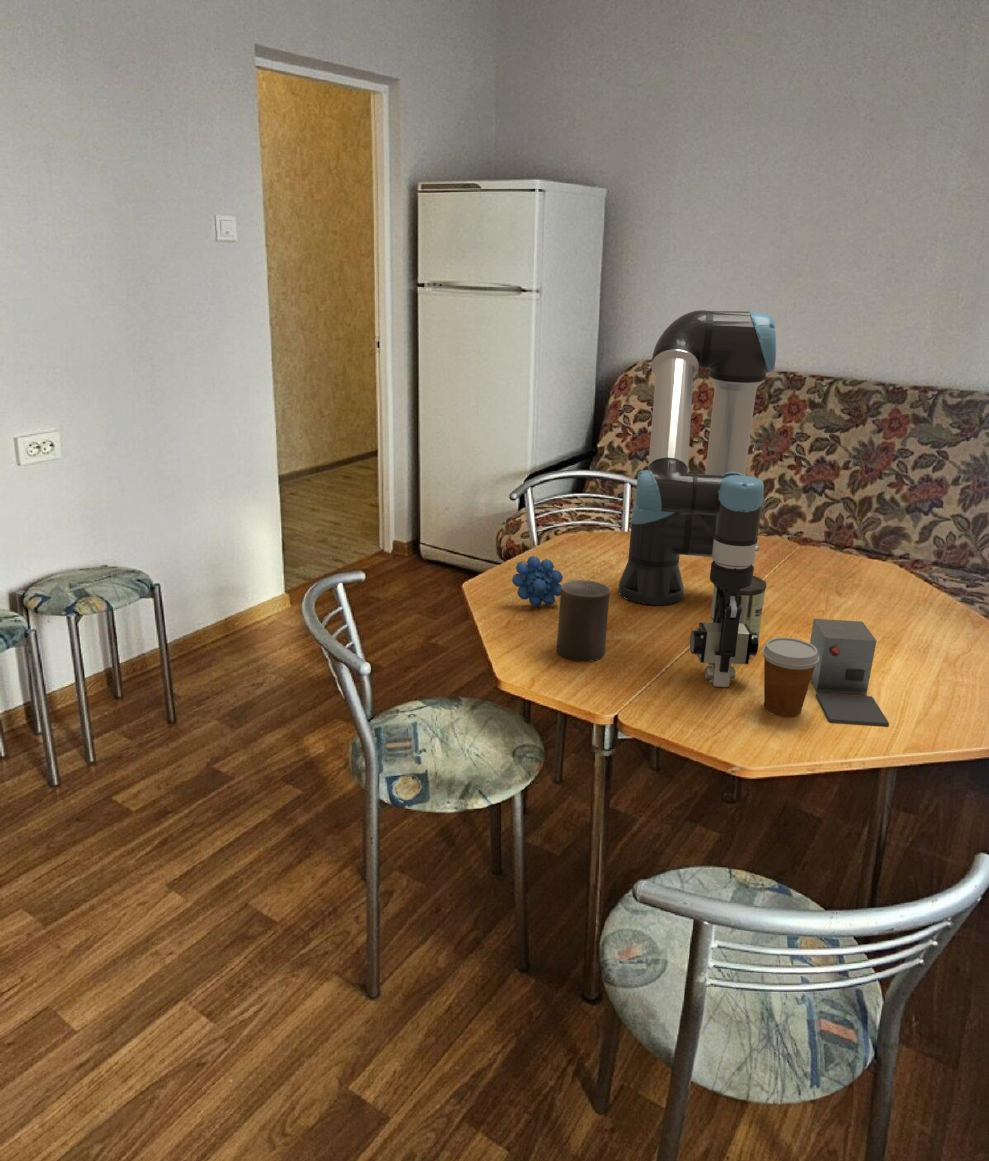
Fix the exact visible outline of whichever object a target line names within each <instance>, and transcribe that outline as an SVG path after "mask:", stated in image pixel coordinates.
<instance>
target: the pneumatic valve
mask: <svg viewBox="0 0 989 1161" xmlns="http://www.w3.org/2000/svg"><path fill="white" fill-rule="evenodd" d="M720 627H721V623H710V622H698V627H696V630H691V631H690V635H689V650H690V653H691V654H692V655H696V656H697V658H698V660H699V663H701V664H703V663H704V664H708V665H706V666H705V667H704V677H705V679H708V680H709V682H708V683H710V684H712V685H713V682H714V673H715V665H716V659H717V655H715V651H716V652H718V651H719V641H720ZM758 652H759V641H758V636H757V634H756V633H755V632H751V630H750V629H749V627H748V626H747V624H739V627H738V636H737V644H736V652H735V653H736V655H735V657H732V663H731V665H732V664H733V665H749V664H750V663H749V662H750V660H751V659H752V658H751V657H752V656H753V657H755V656H757V654H758ZM710 665H711V666H710ZM735 679H736V669H735V667H734V666H731V671H730V679H729V685H731V683H732V681H733V680H735Z"/></svg>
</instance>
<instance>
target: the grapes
mask: <svg viewBox="0 0 989 1161" xmlns="http://www.w3.org/2000/svg"><path fill="white" fill-rule="evenodd" d="M526 562H527V563H526ZM526 562H525V561H520V562H517V564H516V566H515V569H516V572H517V573H515V574H514V575H512V579H511V580H512V581H511V582H512V584H513V585H514V586H515V587H517V588H518V589H517V592H516V593H517V596H518V597H519V598H520V599H521V600H528V601H529V604H531V606H533V607H540V606H541V605H542V603H543V604H544V605H547V606H552V605H553V604H555V601H556V598H555V597H560V596H561V586H562V584H560V583H561V582H562V581H563V578H564V577H563V573H561V571H560V570H558V569H554V568H555V566H554V563H553V562H552V561H551V560H550V559H547V558H546V559H543V560H540V559H539V557H538V556H534V555H532V556H529V557H528V558H527V560H526Z"/></svg>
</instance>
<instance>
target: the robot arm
mask: <svg viewBox="0 0 989 1161" xmlns="http://www.w3.org/2000/svg"><path fill="white" fill-rule="evenodd" d="M775 325H776V324H775V320H774V319H773V317H772V315H770V314H768V313H764V312H755V311H751V310H750V311H742V310H741V311H738V310H737V311H733V310H730V311H729V310H727V311H726V310H706V309H705V310H703V309H701V310H694V311H690V312H686V313H685V314H683V315H682V316H680V317H678V318H676V319H675V320H674V321H672V323H670V324H669V325H668V326H667V327H666V328H665V329H664V331H663V333H662V334H661V335H660V337H659V338H658V339H657V342H656V343H655V346H654V349H653V353H652V357H651V358H652V359H651V371H652V373H653V375H654V376H655V380H654V381H655V382H654V394H653V403H652V404H653V405H652V417H651V430H650V439H649V440H650V441H649V442H650V443H649V453H648V464H647V465H648V466H647V467H648V468H647V469H645V470H640V471H639V472H638V473H637V478H636V489H635V491H636V492H635V502H634V504H633V507H632V513H631V518H630V524H631V527H630V538H629V548H628V557H627V558H628V560H627V562H626V565H625V567H624V570H623V572H622V574H621V577H620V579H619V581H618V590H617V591H618V594H619V593H620V594H619V595H620V596H621V597H622V598H623V597H625V598H627V599H629V600H631V601H630V602H632V601H633V602H632V603H636V602H640V603H644V604H643V605H646V604H650V605H649V606H667V604H669V605H673V604H672V603H674V604H676V602H677V603H678V602H681V601H682V600H683V598H684V592H685V591H684V590H685V587H684V583H683V579H682V574H681V570H680V566H679V564H680V556H681V555H682V556H691V557H693V556H694V557H706V558H711V559H712V561H711V564H710V573H709V581H710V582H711V583H712V584H713V585H714V584H715V585H716V587H717V592H716V602H715V610H714V618H713V623H721V627H720V641H719V651H718V652H716V651H715V655H717V659H716V665H715V673H714V682H713V684H712V685H713V687H721V688H724V687H725V688H729V685H730V684H729V679H730V671H731V667H732V664H731V663H732V657H735V655H736V653H735V652H736V644H737V636H738V627H739V619H740V615H741V612H742V609H741V607H739V606H740V605H741V596H740V595H739V590H740V589H742V588H747V587H749V586H750V585H751V584H752V579H753V576H754V570H755V567H754V563H755V561H756V552H758V551H760V546H759V545H758V544H757V543H758V539H759V538H758V536H759V535H758V534H759V528H760V523H761V518H762V517H761V516H762V510H763V504H764V501H765V498H764V491H765V490H764V489H765V485H764V482H763V481H762V479H759V478H756V477H754V476H749V475H746V469H747V464H748V455H749V448H750V440H751V433H752V425H753V420H754V409H755V401H756V395H757V394H756V393H757V389H758V387H760V385H762V384H763V383H765V381H766V377H767V373H771V372H773V371H775V368H776V360H777V356H776V355H777V341H776V340H777V336H776V335H777V334H776V326H775ZM699 369H709V370H708V378H709V379H710V381H711V382H712V383H713V385H714V392H713V402H712V409H711V410H712V411H711V417H710V418H711V419H710V426H709V427H710V429H709V434H708V435H709V437H708V438H709V439H708V443H707V444H708V445H707V446H708V447H707V453H706V465H705V472H704V473H705V474H702V473H692V472H691V473H690V472H688V471H689V469H688V468H689V457H690V456H689V455H690V439H691V438H690V436H691V424H692V423H691V421H692V403H693V387H694V386H693V385H694V377H695V376H696V375H697V374H698V371H699ZM625 598H624V599H625ZM627 599H626V600H627ZM629 600H628V601H629ZM640 603H639V604H640ZM709 666H711V665H709ZM730 680H731V679H730Z"/></svg>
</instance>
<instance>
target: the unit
mask: <svg viewBox="0 0 989 1161" xmlns="http://www.w3.org/2000/svg"><path fill="white" fill-rule="evenodd" d="M809 643H810V644H812V645H813V646H815V647H816V648H817V651H818V655H819V658H820V659H819V662H818V663H817V665H816V666H815V668H814V671H813V674H812V678H811V681H810V684H812V687H813V689H814V690H815V692H816V693H829V694H844V695H859V696H868V695H867V694H868V688H869V684H870V683H869V682H870V678H871V674H872V673H871V672H872V669H873V668H872V667H873V663H874V657H875V651H876V645H877V639H876V638H875V636H874V635H873V633H871V631H870V629H869V628H868V626H866V624H865V623H864V622H863V621H862V620H861V621H857V620H843V619H826V618H813V622H812V627H811V633H810V641H809Z"/></svg>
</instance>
